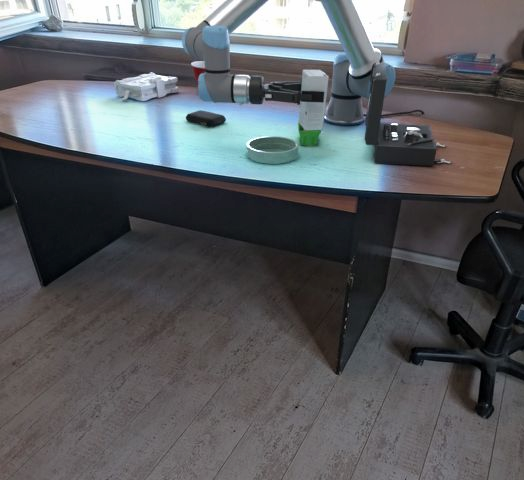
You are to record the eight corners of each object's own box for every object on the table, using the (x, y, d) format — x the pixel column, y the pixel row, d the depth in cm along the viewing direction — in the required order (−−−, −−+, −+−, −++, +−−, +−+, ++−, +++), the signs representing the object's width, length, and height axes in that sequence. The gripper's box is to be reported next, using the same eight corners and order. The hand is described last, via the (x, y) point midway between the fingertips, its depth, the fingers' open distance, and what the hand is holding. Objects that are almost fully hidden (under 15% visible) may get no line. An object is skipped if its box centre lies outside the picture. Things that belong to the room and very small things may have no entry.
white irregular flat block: (106, 98, 215) (102, 79, 210) (151, 87, 232) (149, 68, 227) (136, 105, 206) (132, 85, 201) (181, 92, 224) (179, 74, 219)
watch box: (451, 168, 150) (474, 80, 134) (360, 162, 153) (372, 76, 137) (442, 142, 169) (461, 62, 153) (362, 138, 173) (372, 59, 157)
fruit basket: (297, 136, 174) (298, 102, 166) (321, 136, 174) (324, 102, 166) (297, 146, 165) (299, 111, 158) (323, 147, 165) (326, 111, 158)
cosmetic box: (297, 123, 151) (300, 69, 141) (316, 122, 152) (320, 68, 142) (305, 131, 144) (308, 75, 135) (324, 130, 145) (329, 74, 136)
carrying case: (181, 122, 186) (209, 129, 180) (180, 114, 184) (209, 121, 178) (200, 116, 193) (228, 123, 186) (199, 108, 191) (228, 114, 184)
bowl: (299, 149, 163) (300, 137, 161) (294, 166, 151) (295, 154, 148) (251, 146, 165) (251, 135, 162) (242, 163, 152) (242, 151, 150)
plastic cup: (207, 96, 218) (205, 66, 210) (188, 93, 222) (186, 63, 215) (221, 91, 225) (220, 62, 217) (202, 88, 229) (201, 60, 222)
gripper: (256, 94, 155) (326, 97, 152) (243, 113, 138) (321, 116, 135) (256, 68, 150) (328, 70, 147) (242, 84, 133) (323, 87, 131)
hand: (325, 92), depth 141 cm, fingers closed on cosmetic box, 9 cm apart
